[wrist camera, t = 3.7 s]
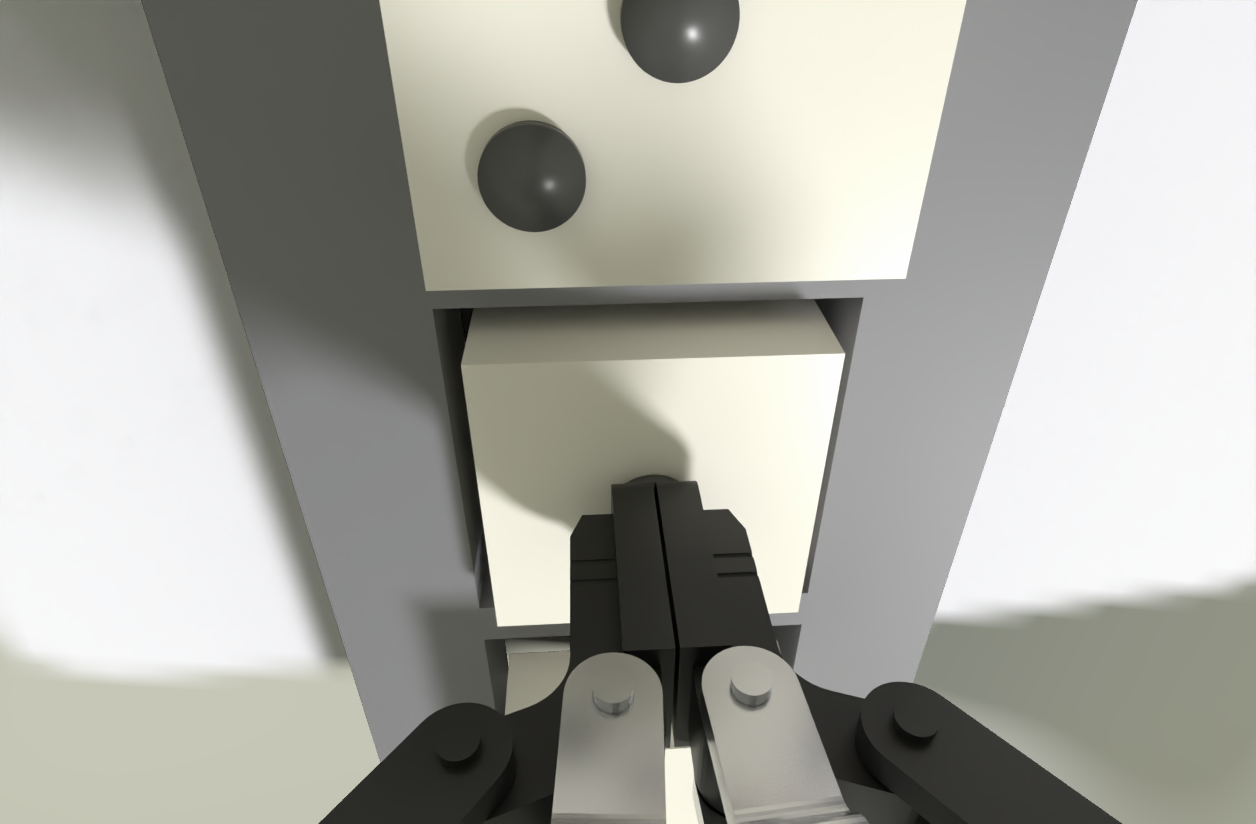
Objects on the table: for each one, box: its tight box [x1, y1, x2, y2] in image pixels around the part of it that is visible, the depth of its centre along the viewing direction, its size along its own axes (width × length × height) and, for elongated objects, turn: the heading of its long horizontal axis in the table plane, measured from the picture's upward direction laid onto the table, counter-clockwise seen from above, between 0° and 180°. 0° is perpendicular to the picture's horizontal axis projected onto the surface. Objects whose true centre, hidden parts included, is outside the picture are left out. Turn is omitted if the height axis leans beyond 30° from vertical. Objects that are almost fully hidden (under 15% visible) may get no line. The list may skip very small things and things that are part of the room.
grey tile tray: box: [141, 0, 1138, 763], centre depth 16 cm, size 13×25×2 cm, turn 0°
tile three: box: [379, 0, 967, 291], centre depth 9 cm, size 6×6×3 cm
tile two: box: [505, 640, 781, 824], centre depth 18 cm, size 6×6×3 cm
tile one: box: [461, 299, 845, 627], centre depth 15 cm, size 6×6×3 cm
